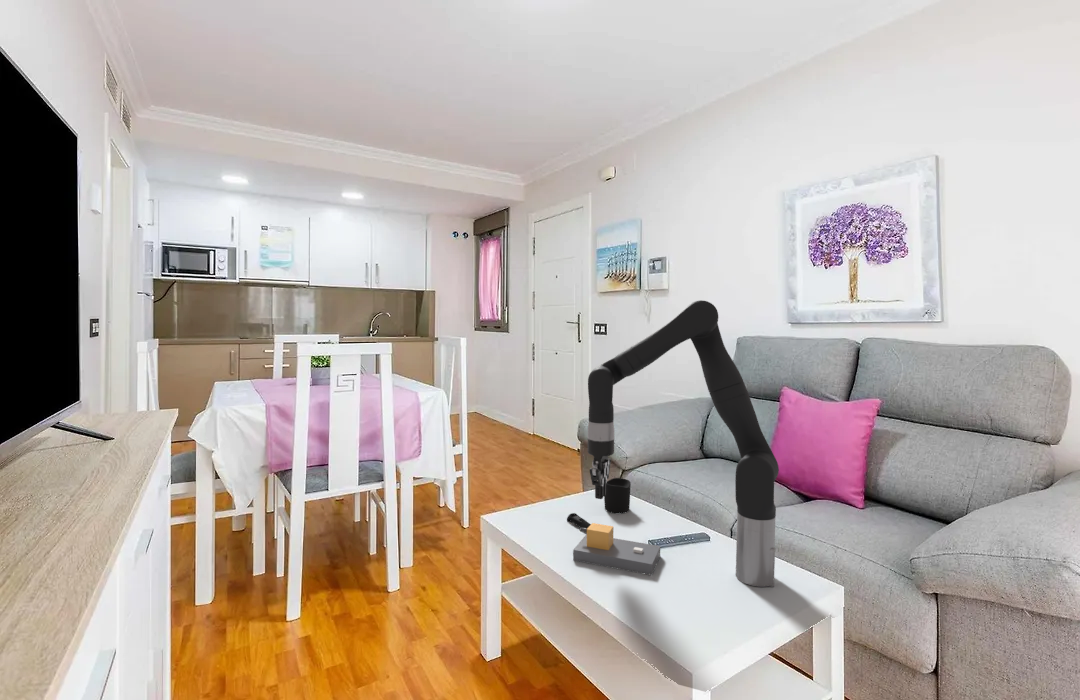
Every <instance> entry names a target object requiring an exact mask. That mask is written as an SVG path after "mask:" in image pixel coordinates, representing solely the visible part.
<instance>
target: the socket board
mask: <svg viewBox="0 0 1080 700" xmlns="http://www.w3.org/2000/svg"><path fill="white" fill-rule="evenodd" d="M572 550H573V551H572V552H573V555H572V556H573V558H572V559H573V560H572V561H575V560H576V561H577V562H582V563H586V564H592V565H596V566H601V565H602V566H601V567H606V566H608V567H607V568H611V567H613V568H612V569H617V568H618V570H622V571H623V570H624V571H627V570H629V571H628V572H632V571H634V573H637V572H638V573H637V574H642V573H645V574H644V575H647V574H650V575H649V576H653V574H652V573H654V571H655V570H656V567H657V565H656V564H658V562H659V561H660V558H661V545H655V544H650V543H644V542H638V541H631V540H627V539H621V538H616V537H615V538H614V537H613V545H612V546H611V547H610V549H609V550H604V549H598V548H593V547H587V533H586V534H585V535H584V536H583V537H582V539H581V540H580V541H579V542H578V544H577V545H576V546H575V547H574V548H573V549H572ZM576 561H575V562H576Z"/></svg>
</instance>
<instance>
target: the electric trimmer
mask: <svg viewBox="0 0 1080 700" xmlns="http://www.w3.org/2000/svg"><path fill="white" fill-rule="evenodd" d="M566 521H567V522H571V523H573V524H574V525H576V526H577V527H579V529H580V528H588V527H589V526H590V525H591V524H592V523H589V522H588V521H587V520H586V519H585V518H583V517H581V516H579V514H577V513H575V512H574V513H573V512H572V513H570V514H568V515H567V517H566Z"/></svg>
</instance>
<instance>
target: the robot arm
mask: <svg viewBox="0 0 1080 700" xmlns="http://www.w3.org/2000/svg"><path fill="white" fill-rule="evenodd" d="M718 322H719V312H718V309H717V307H716V306H715V305H714V304H713V303H712V302H709V301H707V300H695V301H692V302H691V303H689V304H688V305H687V306H686V307H685V308H684V309H683V310H682V311H681V312H680V313H678V315H676V316H675V317H674V318H673V319H672V320H671V321H669V322H668V323H666V324H665V325H663V326H662V327H661V328H658V330H656V331H654V332H653V333H651V334H649V335H648V336H646V337H644V338H642V339H641V340H639V341H637V342H635V343H634V344H632V345H631V346H629V347H627V348H626V349H624V350H623V351H621V352H620V353H618V354H617V355H615V357H612V358H611V359H608V360H606V362H602V363H601V364H600V365H598V366H596V367H595V368H593V369H592V370H591V372H590V373H589V374H588V378H587V392H588V400H589V401H588V404H589V405H588V426H587V453H588V454H589V455H591V456H593V460H592V461H591V466H592V467H590V468H589V476H590V480H591V485H592V486H594V488H595V489H594V497H595V499H597V500H602V499H604V496H605V495H606V483H607V481H608V480H609V478H610V471H611V464H612V459H611V458H609V457H610V456H613V455H614V453H615V425H614V421H615V420H614V419H615V418H614V417H615V415H614V414H615V413H614V403H613V398H614V397H613V396H614V395H613V390H614V385H616V384H617V383H619V382H621V381H622V380H624V379H625V378H627V377H631V376H633V375H635V374H637V373H638V372H640V371H641V370H643V369H645V368H646V367H648V366H650V365H651V364H652V363H654V362H655V361H657V360H659V358H661V357H662V356H664V355H665V354H666V353H667V352H669V351H670V350H672V349H673V348H675V347H676V346H678V345H680V344H682V343H683V342H687V341H688V340H691V343H692V344H693V347H694V348H695V351H696V353H697V355H698V357H699V362H700V364H701V368H702V373H703V374H702V375H703V378H704V380H705V384H706V387H707V391H708V393H709V396H710V398H711V401H712V404H713V406H714V408H715V410H716V411H717V414H718V415H719V417H720V418H721V420H722V421H723V423H724V424H725V426H726V427H727V428H728V429H729V431H730V432H731V434H732V435H733V438H734V440H735V442H736V443H735V444H736V447H737V450H738V452H739V455H740V460H738V463H737V464H736V468H735V479H734V480H735V503H736V507H737V509H736V548H735V549H736V552H735V553H736V555H735V577H736V578H737V579H738V580H739V581H740V582H742V583H743V584H746V585H749V586H753V587H759V588H760V587H762V588H764V587H772V588H774V587H775V569H776V568H775V563H776V562H775V561H776V549H775V548H776V545H775V544H776V516H777V510H776V509H777V508H776V505H775V481H776V479H777V478H778V476H779V471H780V469H779V463H778V461H777V458H776V456H775V455H774V452H773V450H772V449H771V447H770V445H769V444H768V441H767V439H766V438H765V435H764V434H763V432H762V429H761V427H760V423H759V420H758V417H757V414H756V412H755V409H754V406H753V403H752V400H751V396H750V395H749V392H748V389H747V387H746V384H745V382H744V379H743V376H742V375H741V373H740V371H739V369H738V367H737V365H736V363H735V362H734V360H733V358H732V357H731V356H730V353H728V350H727V349H726V346H725V343H724V341H723V338H722V334H721V331H720V327H719V323H718Z"/></svg>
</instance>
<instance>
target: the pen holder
mask: <svg viewBox="0 0 1080 700" xmlns="http://www.w3.org/2000/svg"><path fill="white" fill-rule="evenodd" d="M631 483H632V482H631V481H630V479H629V480H628V479H626V478H622V477H621V478H620V477H613V478H611V479H608V480H607V483H606V495H605V496H603V501H604V509H605V511H606V510H607V511H606V512H608V513H611V512H612V513H611V514H616V513H621V514H625V512H626V513H628V512H629V511H630V505H631V504H630V502H631Z"/></svg>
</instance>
